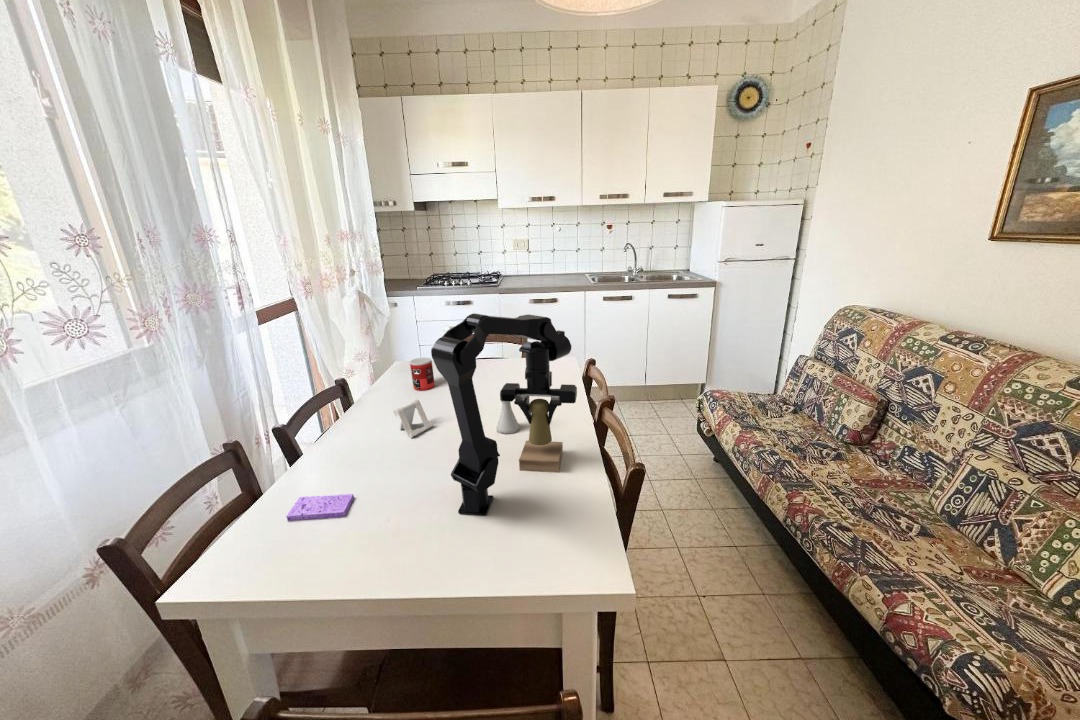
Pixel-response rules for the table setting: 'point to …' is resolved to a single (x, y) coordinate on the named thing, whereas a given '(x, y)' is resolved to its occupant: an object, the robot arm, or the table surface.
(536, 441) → the olive pawn
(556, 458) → the walnut block
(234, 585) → the table surface
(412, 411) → the portable electronic device stand
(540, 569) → the table surface
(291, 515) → the sponges
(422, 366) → the canned food
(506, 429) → the flask
